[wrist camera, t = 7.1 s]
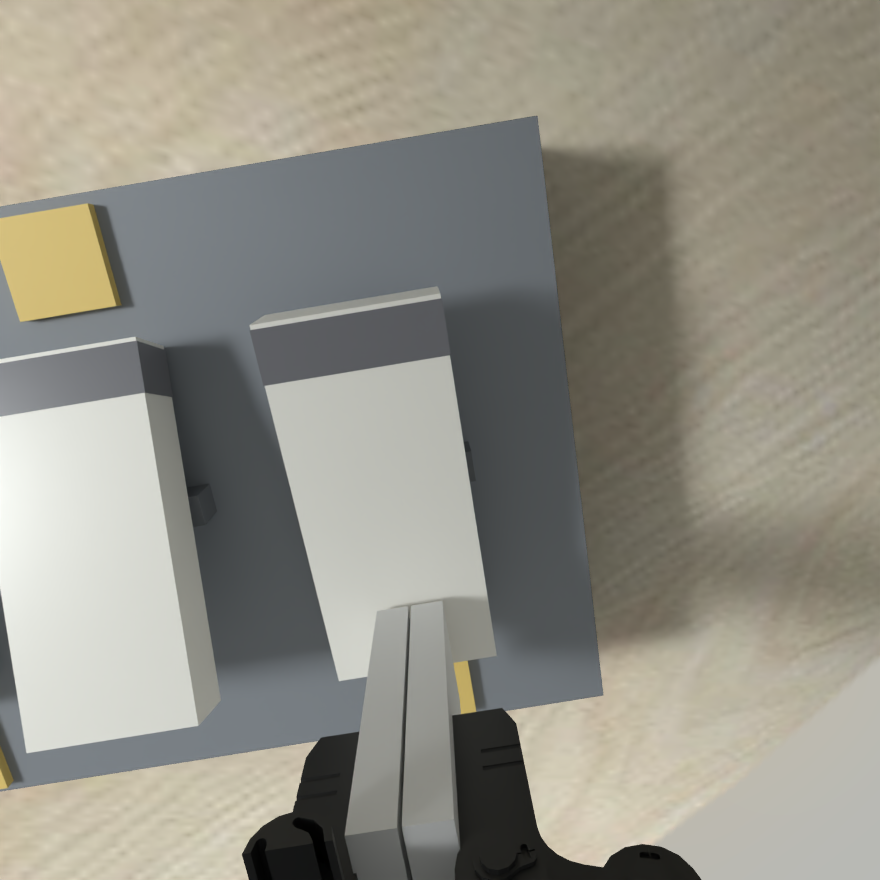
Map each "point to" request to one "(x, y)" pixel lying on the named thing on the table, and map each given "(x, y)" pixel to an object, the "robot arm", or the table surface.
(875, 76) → the table surface
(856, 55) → the table surface
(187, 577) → the rocker mid
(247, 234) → the switch unit
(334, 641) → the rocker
